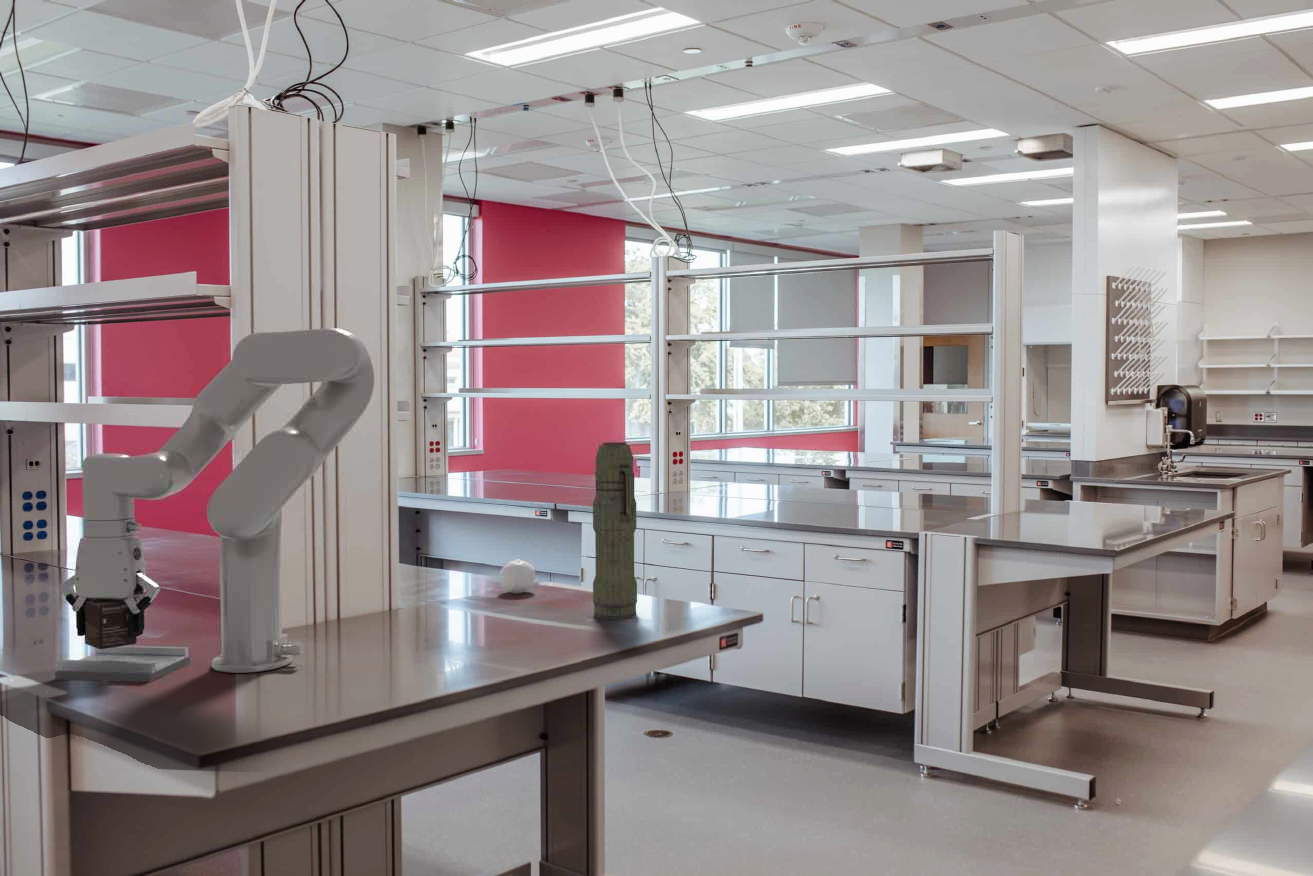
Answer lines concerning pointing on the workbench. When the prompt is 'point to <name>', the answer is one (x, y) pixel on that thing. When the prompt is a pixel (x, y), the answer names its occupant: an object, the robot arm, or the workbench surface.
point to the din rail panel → (124, 664)
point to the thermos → (614, 533)
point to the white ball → (517, 576)
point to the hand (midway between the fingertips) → (110, 634)
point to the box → (107, 623)
